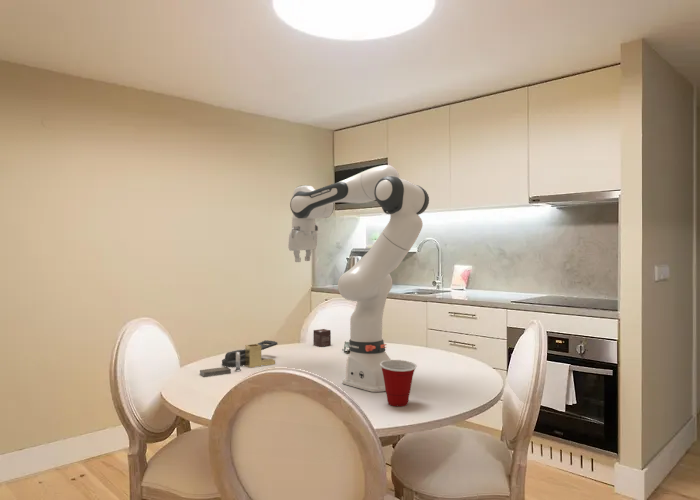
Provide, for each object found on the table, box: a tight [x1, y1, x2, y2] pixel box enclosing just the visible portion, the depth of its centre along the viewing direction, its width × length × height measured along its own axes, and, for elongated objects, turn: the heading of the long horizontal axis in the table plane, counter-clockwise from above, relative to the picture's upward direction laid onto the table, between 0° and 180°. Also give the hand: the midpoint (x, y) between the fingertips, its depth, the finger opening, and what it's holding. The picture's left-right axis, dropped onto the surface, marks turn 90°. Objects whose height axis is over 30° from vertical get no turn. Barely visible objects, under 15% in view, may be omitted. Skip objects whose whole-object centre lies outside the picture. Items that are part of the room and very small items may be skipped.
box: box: [312, 328, 332, 348], centre depth 249 cm, size 6×6×7 cm
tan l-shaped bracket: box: [244, 343, 276, 368], centre depth 209 cm, size 11×5×8 cm, turn 121°
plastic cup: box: [380, 359, 418, 407], centre depth 156 cm, size 11×11×12 cm
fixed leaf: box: [199, 352, 242, 378], centre depth 195 cm, size 5×15×7 cm, turn 121°
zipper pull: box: [221, 340, 278, 368], centre depth 216 cm, size 9×7×25 cm
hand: (302, 261), depth 210 cm, fingers open, 8 cm apart
